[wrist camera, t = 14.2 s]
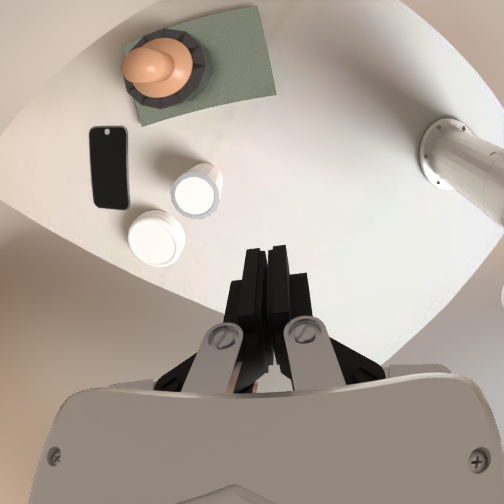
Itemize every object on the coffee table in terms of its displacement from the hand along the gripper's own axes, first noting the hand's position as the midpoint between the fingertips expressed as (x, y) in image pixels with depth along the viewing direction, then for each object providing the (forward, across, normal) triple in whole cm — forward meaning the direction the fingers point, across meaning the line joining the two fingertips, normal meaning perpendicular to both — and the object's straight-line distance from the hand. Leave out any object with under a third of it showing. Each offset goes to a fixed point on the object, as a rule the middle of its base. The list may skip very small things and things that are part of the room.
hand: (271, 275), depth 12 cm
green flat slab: (+32, +8, -14) cm, 35 cm away
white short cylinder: (+32, +22, +12) cm, 41 cm away
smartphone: (+32, +27, -1) cm, 42 cm away
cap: (+28, +11, -14) cm, 33 cm away
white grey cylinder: (+32, +11, +4) cm, 34 cm away
